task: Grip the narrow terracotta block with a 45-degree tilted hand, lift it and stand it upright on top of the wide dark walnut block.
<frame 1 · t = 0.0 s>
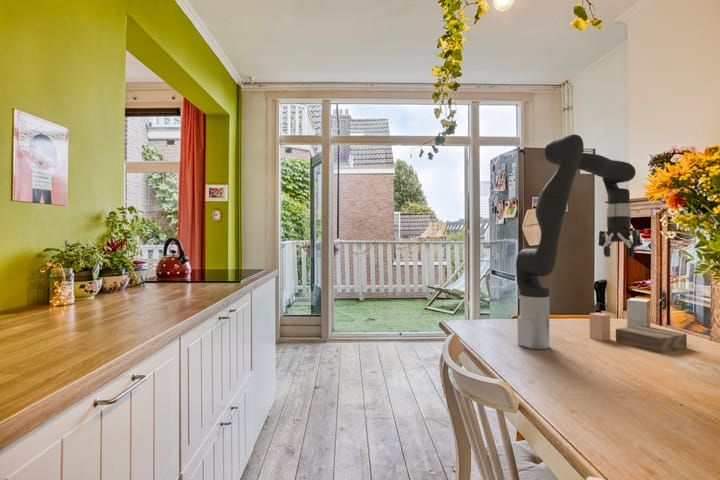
hand: (618, 257, 142), 29 cm above the table, tool pointing down, fingers open, 8 cm apart
walnut block: (650, 346, 125), on the table
small box: (638, 333, 140), on the table
terracotta block: (599, 338, 133), on the table
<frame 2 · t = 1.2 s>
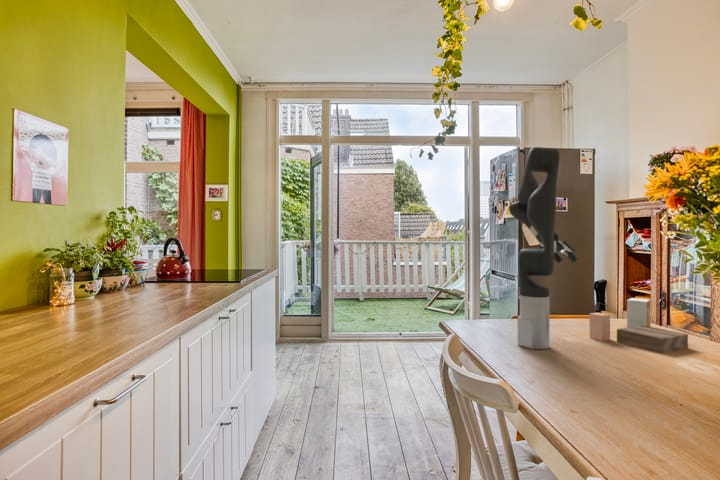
hand: (568, 261, 145), 28 cm above the table, tool tilted 45°, fingers open, 8 cm apart
nothing on the table moved.
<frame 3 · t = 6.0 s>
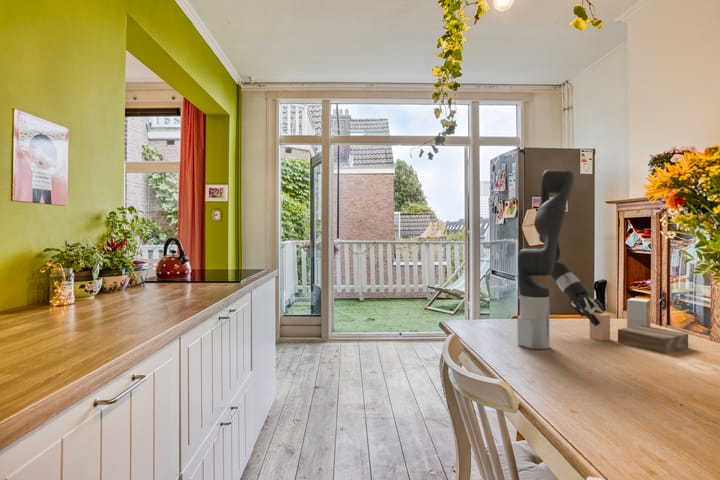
hand: (602, 323, 132), 6 cm above the table, tool tilted 45°, fingers closed on terracotta block, 4 cm apart
terracotta block: (599, 338, 133), on the table, touching gripper
everything else where it was.
when the fingers open (12 cm above the table, at t = 12.1 s): terracotta block drops 2 cm, point 5 cm above the table.
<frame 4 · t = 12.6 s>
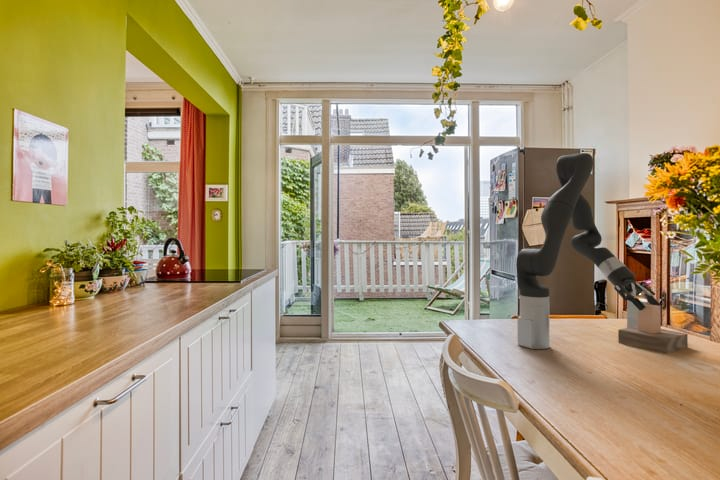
hand: (650, 308, 125), 13 cm above the table, tool tilted 45°, fingers open, 8 cm apart
terracotta block: (649, 331, 125), point 5 cm above the table
everything else where it was.
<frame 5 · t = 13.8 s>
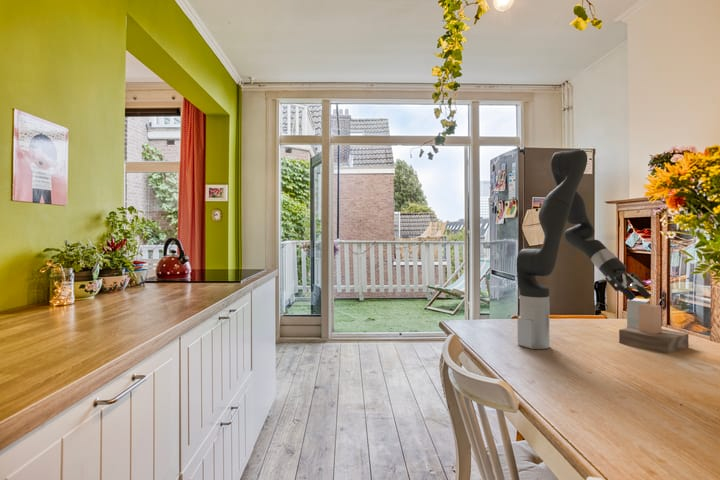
hand: (641, 298, 128), 16 cm above the table, tool tilted 45°, fingers open, 8 cm apart
walnut block: (653, 346, 125), on the table, touching terracotta block
terracotta block: (650, 331, 125), point 5 cm above the table, touching walnut block
everything else where it was.
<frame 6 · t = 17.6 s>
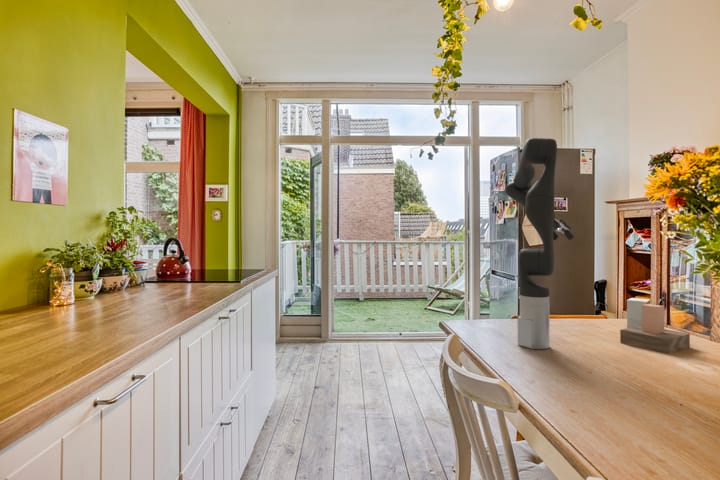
hand: (564, 238, 143), 37 cm above the table, tool tilted 45°, fingers open, 8 cm apart
walnut block: (654, 346, 125), on the table
terracotta block: (653, 331, 125), point 5 cm above the table
everything else where it was.
at the end: terracotta block inside the target area on the walnut block (0.3 cm from its centre), point 5.0 cm above the walnut block's base; terracotta block tilted 0°; the gripper is holding nothing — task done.
